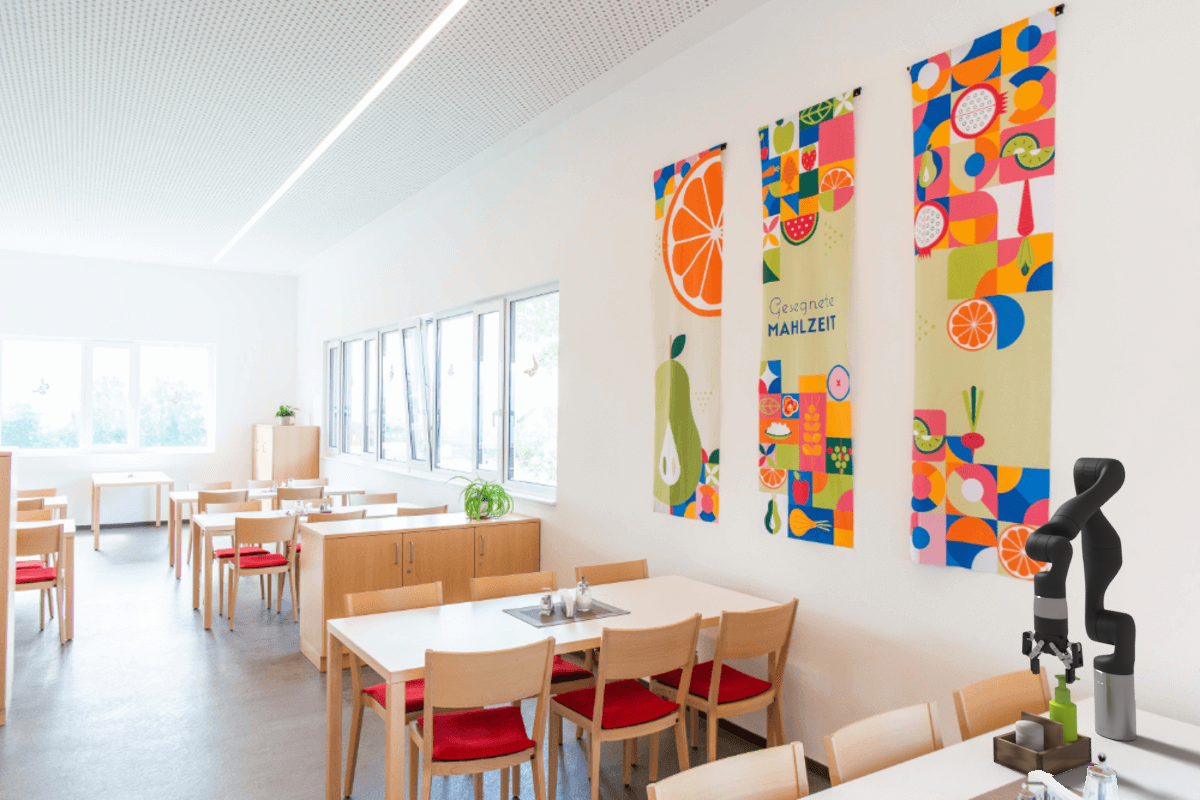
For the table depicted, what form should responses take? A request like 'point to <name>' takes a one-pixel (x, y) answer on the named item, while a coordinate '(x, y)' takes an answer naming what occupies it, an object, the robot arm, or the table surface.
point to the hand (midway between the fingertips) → (1052, 678)
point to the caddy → (1040, 747)
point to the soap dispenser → (1064, 710)
